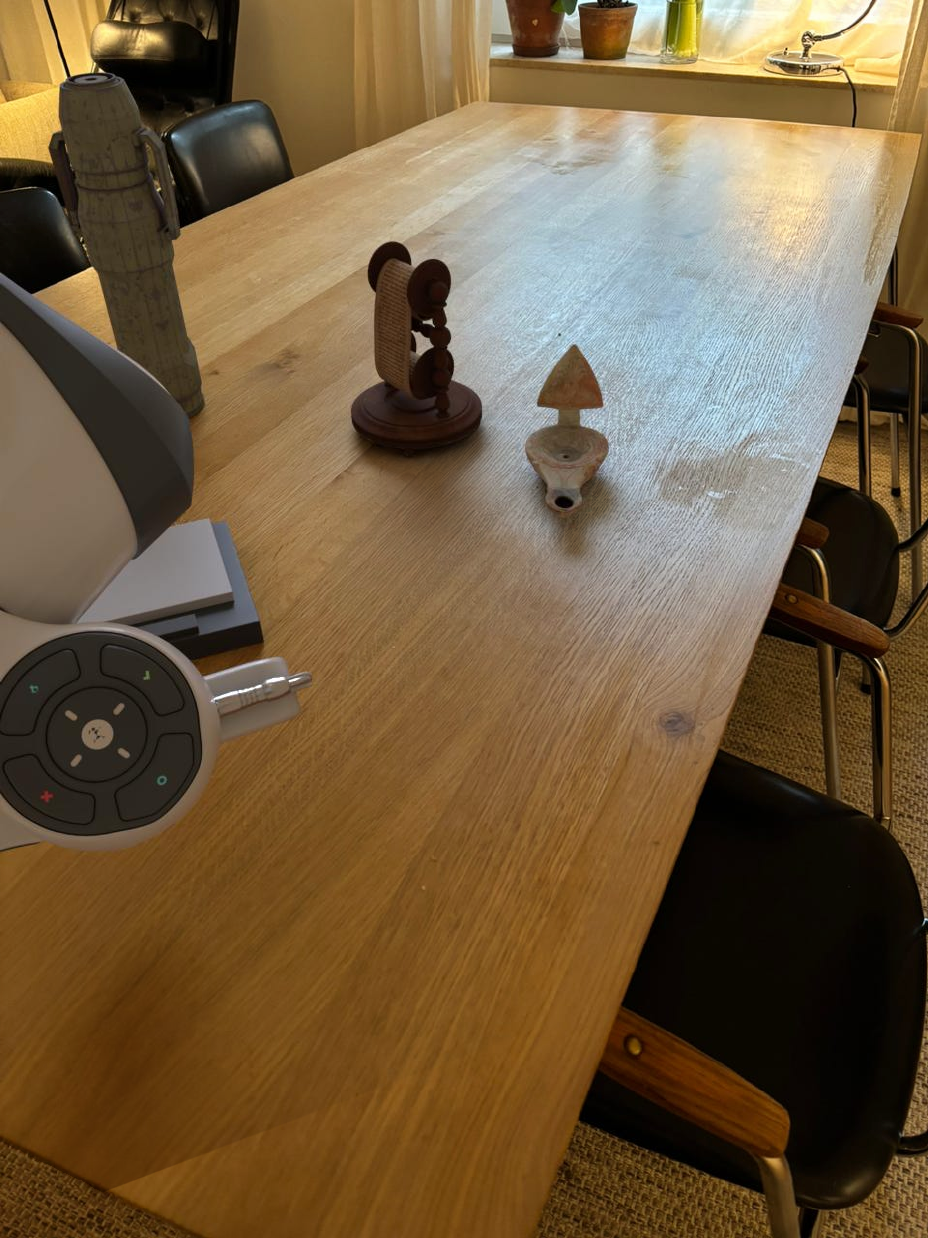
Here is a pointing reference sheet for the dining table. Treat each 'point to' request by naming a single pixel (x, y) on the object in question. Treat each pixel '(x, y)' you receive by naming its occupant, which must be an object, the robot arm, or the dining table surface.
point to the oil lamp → (568, 433)
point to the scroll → (412, 359)
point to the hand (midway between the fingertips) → (122, 743)
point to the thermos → (126, 226)
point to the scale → (185, 592)
